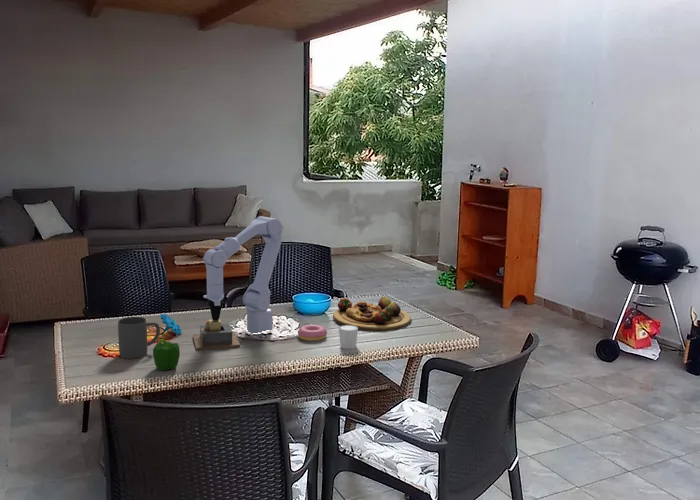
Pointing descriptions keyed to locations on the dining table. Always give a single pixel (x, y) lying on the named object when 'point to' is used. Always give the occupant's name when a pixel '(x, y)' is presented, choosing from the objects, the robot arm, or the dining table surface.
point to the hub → (215, 338)
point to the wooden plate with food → (371, 315)
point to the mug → (134, 337)
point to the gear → (170, 324)
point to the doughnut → (312, 332)
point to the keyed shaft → (213, 325)
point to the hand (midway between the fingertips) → (215, 320)
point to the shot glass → (348, 336)
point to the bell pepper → (166, 355)
